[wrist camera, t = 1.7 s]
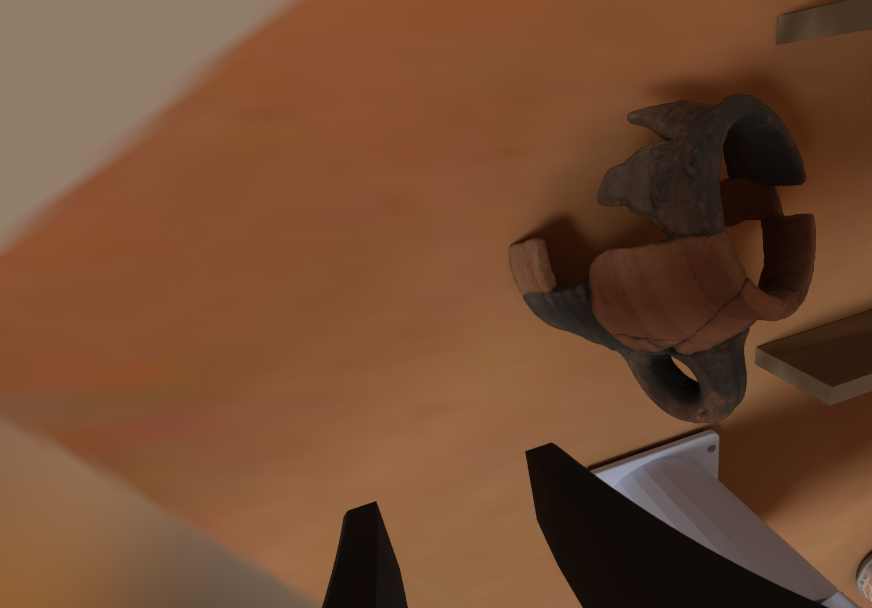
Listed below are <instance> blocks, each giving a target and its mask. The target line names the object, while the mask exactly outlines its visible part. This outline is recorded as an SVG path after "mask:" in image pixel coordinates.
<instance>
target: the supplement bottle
mask: <svg viewBox="0 0 872 608" xmlns="http://www.w3.org/2000/svg"><path fill="white" fill-rule="evenodd" d="M857 588H858V590H859V592H860V593H861V594H862V595H863V596H864V597H866V598H867V599H868V600H869V601H870V602H871V603H872V553H871V554H870V555H869V556H868V557H867V558H866V559H865V560H864V561H863V562H862V564H861V565H860V567H859V570H858V572H857Z"/></svg>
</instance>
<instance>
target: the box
mask: <svg viewBox="0 0 872 608" xmlns="http://www.w3.org/2000/svg"><path fill="white" fill-rule="evenodd" d="M869 29H872V0H846V1H841V2H837V3H833V4H828V5H824V6H820V7H816V8H811V9H807V10H803V11H798V12H794V13H790V14H785V15H781V16H778V26H777V41H776V45H777V44H783V43H789V42H796V41H802V40H808V39H814V38H820V37H826V36H832V35H838V34H844V33H851V32H857V31H863V30H869ZM755 364H756V365H758V366H760V367H761V368H763V369H765V370H767V371H769V372H770V373H772V374H774V375H776V376H777V377H779V378H781V379H783V380H785V381H786V382H788V383H790V384H792V385H793V386H795V387H797V388H799V389H800V390H802V391H804V392H806V393H808V394H809V395H811V396H813V397H815V398H816V399H818V400H820V401H822V402H823V403H825V404H827V405H829V406H831V405H833V404H836V403H839V402H842V401H845V400H848V399H851V398H853V397H856V396H859V395H862V394H865V393H868V392H871V391H872V310H870V311H867V312H864V313H861V314H858V315H855V316H852V317H849V318H846V319H842V320H839V321H836V322H833V323H830V324H827V325H824V326H821V327H818V328H815V329H812V330H809V331H806V332H803V333H800V334H797V335H793V336H790V337H787V338H784V339H781V340H778V341H775V342H772V343H769V344H766V345H763V346H760V347H757V348H756V363H755Z"/></svg>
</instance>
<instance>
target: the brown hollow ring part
mask: <svg viewBox="0 0 872 608" xmlns="http://www.w3.org/2000/svg"><path fill="white" fill-rule="evenodd" d="M627 120H628V121H629V122H630V123H631V124H636V125H640V126H644V127H647V128H649V129H651V130H652V131H653V132H655V133H656V134H658V135H659V136H660V137H662V138H663V139H665V140H666V141H659V142H652V143H650V144H649V145H647V146H645V147H642V148H640V149H639V150H638V151H636V152H635V153H634V154H633V155H632V156H631V157H630V158H629V159H628V160H627V161H625V162H624V163H622V164H620V165H617V166H614V167H613V168H611V169H610V170H608V172H607V173H606V174H605V176H604V178H603V181H602V183H601V186H600V189H599V192H598V202H599V204H601V205H604V206H622V205H625V206H626V207H627V208H629V210H631V211H632V212H635V213H637V214H638V215H640V216H642V217H644V218H646V219H647V220H649V221H651V222H652V223H654V224H655V225H656V226H657V228H658V229H660V230H661V231H663V232H664V233H665V234H666V235H667V236H668V238H667V239H665V240H663V241H658V242H654V243H650V244H645V245H640V246H632V247H614V248H610V249H607V250H606V251H605V252H604V253H603V254H600V255H599V256H598V257H596V258H595V260H594V261H593V262H592V264H591V266H590V273H589V277H590V280H589V281H583V282H581V283H579V284H576V285H573V286H571V287H563V286H559V285H558V283H557V281H556V278H555V275H554V273H553V271H552V266H551V264H550V259H549V255H548V250H547V244H546V241H545V240H544V239H543V238H532V239H528V240H526V241H525V242H524V243H516V244H512V245H510V247H509V258H510V266H511V269H512V273H513V276H514V280H515V282H516V284H517V286H518V288H519V291H520V292H521V294H522V295H523V299H524V300H525V302H526V303H527V305H528V306H529V307H530V308H531V310H532V311H533V312H534V314H535V315H536V316H537V317H539V318H540V319H541V320H543V321H544V322H545V323H547V324H548V325H550V326H552V327H554V328H557V329H560V330H564V331H568V332H571V333H573V334H576V335H579V336H582V337H584V338H585V339H587V340H589V341H591V342H593V343H597V344H601V345H603V346H605V347H607V348H609V349H611V350H613V351H618V352H619V353H620V354H621V355H622V356H623V357H624V359H625V360H626V362H627V363H628V365H629V367H630V369H631V370H632V372H633V374H634V376H635V378H636V380H637V381H638V383H639V384H640V386H641V387H642V389H643V390H644V391H645V393H646V394H647V395H648V397H649V398H650V399H651V400H652V401H653V402H654V403H655V404H656V405H658V407H660V408H661V409H662V410H663V411H665V412H666V413H668V414H670V415H671V416H673V417H675V418H677V419H680V420H683V421H688V422H692V423H715V422H719V421H721V420H723V419H725V418H726V417H728V416H729V415H730V414H731V413H732V412H733V410H734V408H736V407H737V406H738V405H739V404H740V402H741V401H742V399H743V398H744V395H745V392H746V383H747V372H746V366H745V357H744V344H745V340H746V338H747V335H748V333H749V330H750V328H749V327H750V326H752V325H753V324H754V323H755V322H756V320H766V321H777V320H781V319H784V318H787V317H789V316H790V315H792V314H793V313H794V312H795V311H797V309H798V308H799V306H800V305H801V304H802V303H803V301H804V300H805V297H806V295H807V293H808V289H809V286H810V283H811V280H812V274H813V271H814V260H815V250H816V228H815V219H814V216H813V214H796V215H792V216H784V214H783V211H782V205H781V201H780V198H779V195H778V193H777V190H776V187H775V186H780V185H781V186H791V185H801V184H803V183H804V182H805V181H806V174H805V171H804V166H803V161H802V158H801V156H800V154H799V150H798V149H797V147H796V144H795V142H794V140H793V139H792V137H791V134H790V132H789V131H788V129H787V127H786V126H785V125H784V124H783V122H782V120H781V119H780V118H779V117H778V115H777V114H776V113H775V112H774V111H773V110H772V109H770V108H769V107H768V106H767V105H764V104H763V103H762V102H761V101H760V100H758V99H756V98H755V97H754V96H753V95H743V94H735V95H730V96H728V97H726V98H725V99H724V100H723V101H722V102H721V103H719V104H717V105H714V106H709V105H706V104H702V103H697V102H695V101H690V100H681V101H678V102H673V103H667V104H661V105H657V106H649V107H646V108H643V109H640V110H637V111H634V112H631V113H629V114H628V116H627ZM722 150H723V152H724V158H725V163H726V166H727V173H728V175H729V178H727V179H725V180H723V181H721V182H720V166H721V155H722ZM746 220H761V227H762V231H763V250H764V267H763V270H762V272H761V276H760V280H759V284H758V287H757V286H756V285H755V284H754V283H753V282H752V281H751V280H750V279H749V278H748V277H746V272H745V270H744V269H743V267H742V266H741V264H740V262H739V260H738V258H737V255H736V253H735V251H734V249H733V247H732V244H731V242H730V239H729V235H728V233H727V232H726V230H725V228H724V226H726V227H728V226H735V225H737V224H739V223H741V222H743V221H746ZM671 356H672V357H674V358H676V359H678V360H679V361H681V362H682V363H684V364H685V365H686V366H687V367H688V368H689V369H690V370H691V371H692V372H693V374H694V375H695V377H696V379H697V381H698V382H697V381H695V380H693V379H691V378H689V377H688V376H686V375H685V374H684V373H683V372H682V371H681V370H680V369H679V368H678V367H677V366H676V365H675V363H674V362H673V360H672V358H671Z"/></svg>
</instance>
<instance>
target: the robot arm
mask: <svg viewBox="0 0 872 608" xmlns="http://www.w3.org/2000/svg"><path fill="white" fill-rule="evenodd" d="M525 453H526V459H527V464H528V470H529V476H530V482H531V488H532V493H533V499H534V505H535V511H536V517H537V521H538V523H539V525H540V528H541V530H542V532H543V534H544V536H545V539H546V541H547V543H548V545H549V547H550V549H551V552H552V554H553V556H554V558H555V560H556V562H557V564H558V566H559V568H560V570H561V571H562V573H563V575H564V577H565V578H566V580H567V582H568V583H569V585H570V587H571V588H572V590H573V592H574V594H575V595H576V597H577V599H578V600H579V602H580V604H581V605H582V607H583V608H861V607H860V606H858V605H857V604H856V603H855V602H854V601H852V600H851V599H850V598H849V597H847V596H846V595H845V594H844V593H843V592H841V591H839V590H838V589H837V588H836V587H835V586H834V585H833V584H832V583H831V582H830V581H829V580H827V579H826V578H825V577H824V576H823V575H822V574H821V573H820V572H819V571H818V570H816V569H815V568H814V567H813V566H812V565H811V564H810V563H809V562H808V561H807V560H805V559H804V558H803V557H802V556H801V555H800V554H799V553H798V552H797V551H796V550H794V549H793V548H792V547H791V546H790V545H789V544H788V543H787V542H786V541H785V540H783V539H782V538H781V537H780V536H779V535H778V534H777V533H776V532H775V531H774V530H772V529H771V528H770V527H769V526H768V525H767V524H766V523H765V522H764V521H763V520H762V519H760V518H759V517H758V516H757V515H756V514H755V513H754V512H753V511H752V510H751V509H749V508H748V507H747V506H746V505H745V504H744V503H743V502H742V501H741V500H740V499H738V498H737V497H736V496H735V495H734V494H733V493H732V492H731V491H730V490H729V489H727V488H726V487H725V486H724V485H723V484H722V483H721V482H720V481H719V480H718V464H719V435H718V434H717V433H716V432H714V431H713V430H706V431H703V432H700V433H697V434H694V435H692V436H689V437H686V438H683V439H680V440H677V441H674V442H671V443H668V444H666V445H663V446H660V447H657V448H654V449H651V450H648V451H645V452H642V453H640V454H637V455H634V456H631V457H628V458H625V459H622V460H619V461H616V462H613V463H611V464H608V465H605V466H602V467H599V468H596V469H593V470H590V471H589V470H588V469H586V468H585V467H584V466H583V465H581V464H580V463H579V462H577V461H576V460H575V459H573V458H572V457H571V456H570V455H568V454H567V453H566V452H565V451H563V450H562V449H561V448H559V447H558V446H557V445H555V444H553V443H549V444H546V445H543V446H540V447H537V448H534V449H531V450H528V451H525ZM322 608H408V606H407V601H406V596H405V591H404V587H403V582H402V577H401V572H400V568H399V565H398V562H397V559H396V556H395V554H394V551H393V548H392V545H391V542H390V539H389V536H388V534H387V531H386V528H385V525H384V522H383V519H382V516H381V513H380V511H379V508H378V505H377V502H376V501H375V502H372V503H369V504H366V505H363V506H360V507H357V508H354V509H351V510H348V511H347V512H346V514H345V515H344V518H343V524H342V530H341V535H340V540H339V545H338V549H337V554H336V558H335V562H334V566H333V570H332V574H331V578H330V581H329V585H328V588H327V592H326V595H325V599H324V602H323V606H322Z"/></svg>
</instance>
